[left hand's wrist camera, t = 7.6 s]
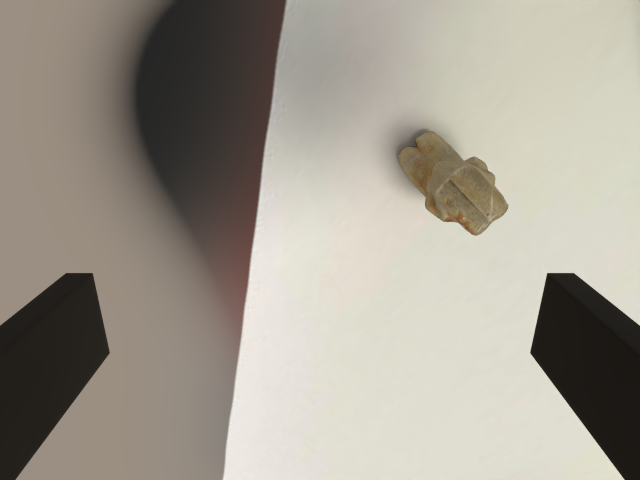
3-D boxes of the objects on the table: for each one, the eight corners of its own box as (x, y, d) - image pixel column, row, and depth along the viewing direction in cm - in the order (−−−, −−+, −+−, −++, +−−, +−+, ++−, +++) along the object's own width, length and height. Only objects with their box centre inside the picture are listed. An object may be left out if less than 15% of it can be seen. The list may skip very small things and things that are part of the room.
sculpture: (434, 119, 42) (490, 143, 28) (474, 174, 44) (545, 222, 30) (386, 157, 44) (417, 198, 30) (427, 209, 46) (475, 270, 32)
